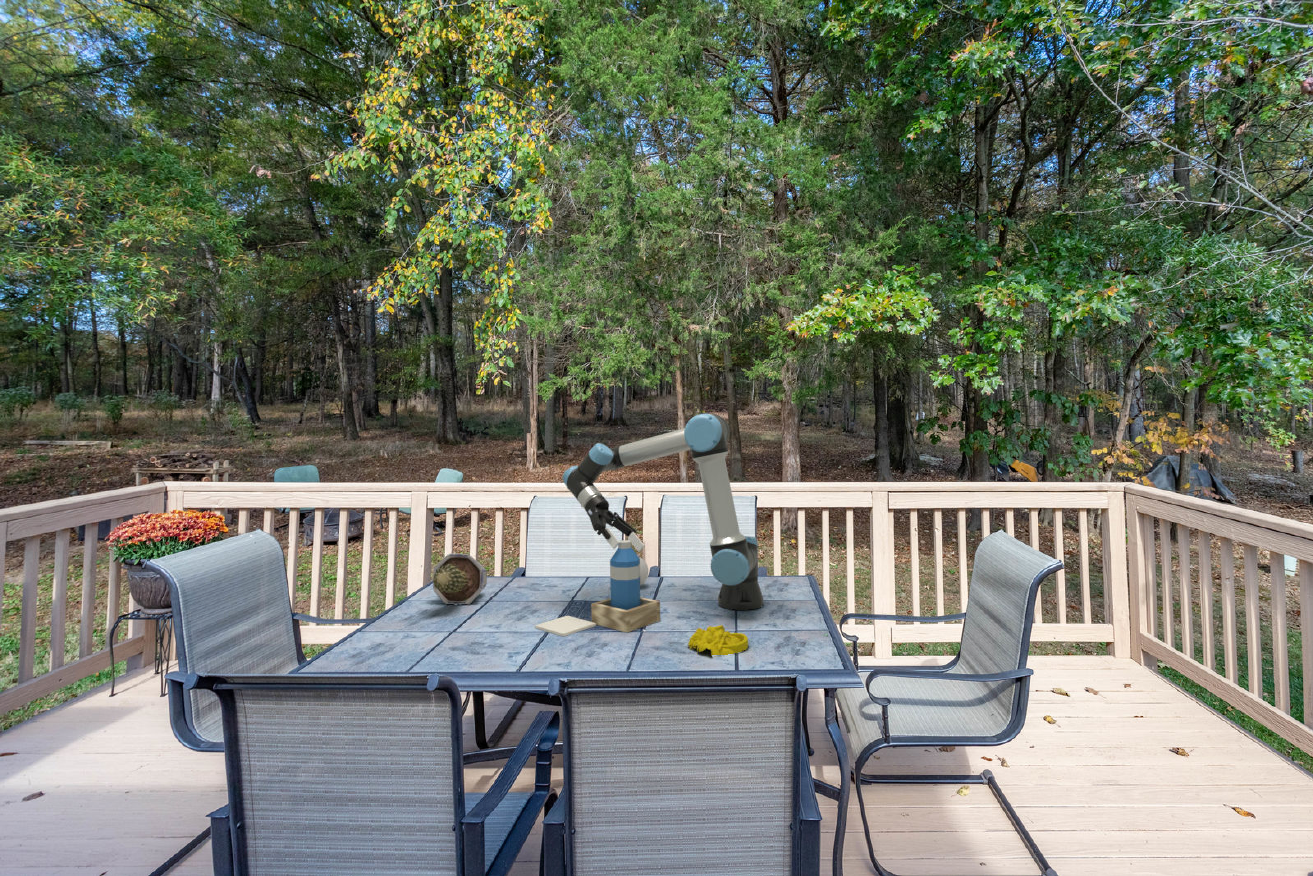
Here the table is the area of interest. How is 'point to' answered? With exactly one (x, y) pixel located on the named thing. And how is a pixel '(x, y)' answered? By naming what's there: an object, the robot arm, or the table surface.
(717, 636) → the door knocker
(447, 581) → the potted plant
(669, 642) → the table surface
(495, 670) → the table surface
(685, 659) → the table surface
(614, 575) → the water bottle
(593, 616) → the holder collar
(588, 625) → the plate
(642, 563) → the decorative ball
